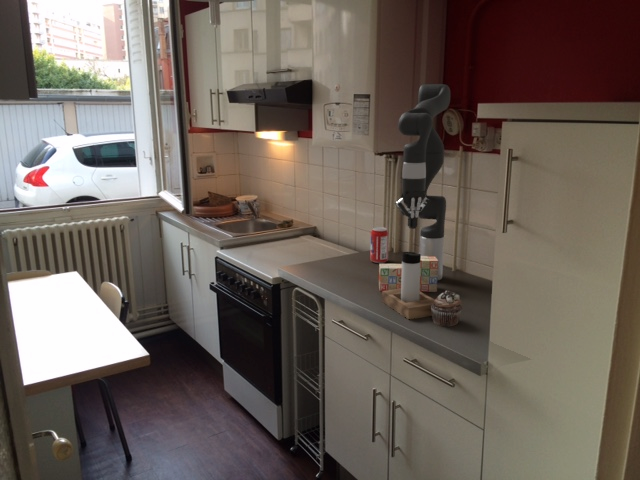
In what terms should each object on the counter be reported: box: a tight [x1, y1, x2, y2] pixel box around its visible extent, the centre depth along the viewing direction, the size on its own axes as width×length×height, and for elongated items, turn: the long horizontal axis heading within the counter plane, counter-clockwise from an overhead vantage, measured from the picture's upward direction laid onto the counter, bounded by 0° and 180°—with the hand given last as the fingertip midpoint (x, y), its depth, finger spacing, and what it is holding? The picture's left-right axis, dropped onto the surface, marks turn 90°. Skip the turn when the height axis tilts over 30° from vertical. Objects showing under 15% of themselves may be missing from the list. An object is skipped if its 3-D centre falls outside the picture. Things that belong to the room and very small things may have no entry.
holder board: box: [381, 289, 435, 320], centre depth 189 cm, size 18×12×4 cm, turn 22°
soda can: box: [369, 226, 390, 264], centre depth 243 cm, size 8×8×15 cm
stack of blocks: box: [378, 256, 438, 293], centre depth 207 cm, size 21×6×12 cm, turn 88°
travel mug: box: [401, 251, 421, 303], centre depth 187 cm, size 6×7×20 cm
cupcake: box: [431, 289, 463, 327], centre depth 176 cm, size 10×10×10 cm
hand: (412, 228), depth 182 cm, fingers closed
